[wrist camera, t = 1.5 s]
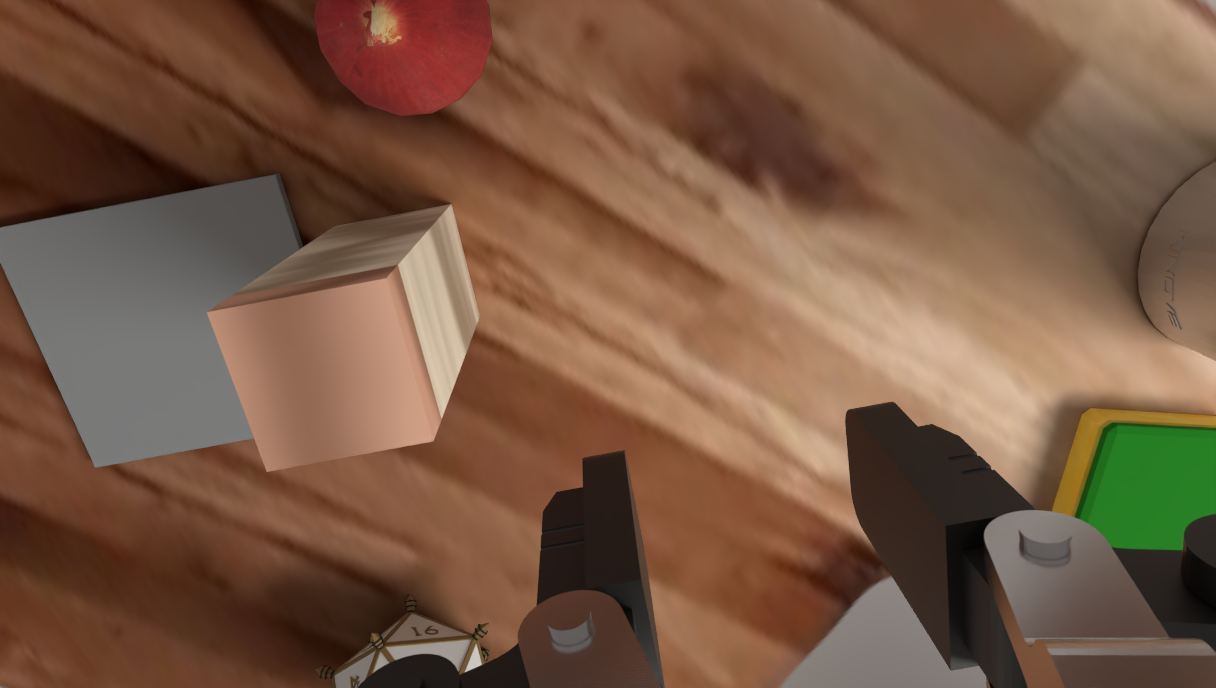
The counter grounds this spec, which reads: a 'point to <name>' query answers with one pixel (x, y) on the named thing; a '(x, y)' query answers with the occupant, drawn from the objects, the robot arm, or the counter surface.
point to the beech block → (352, 339)
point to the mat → (147, 310)
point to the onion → (405, 49)
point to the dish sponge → (1140, 476)
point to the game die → (410, 647)
